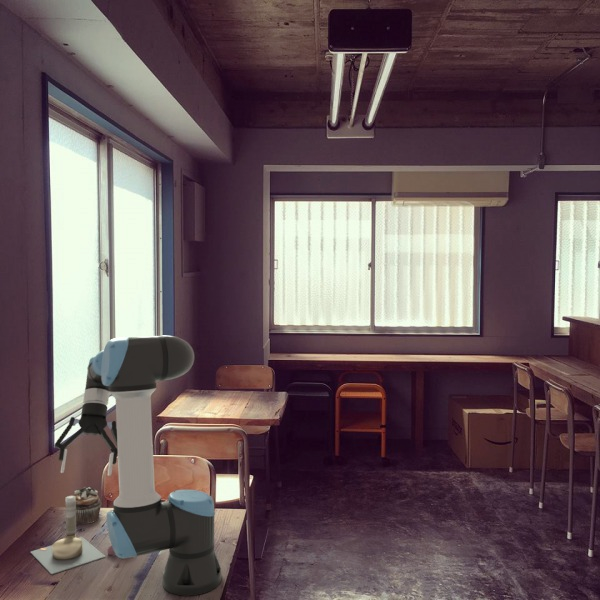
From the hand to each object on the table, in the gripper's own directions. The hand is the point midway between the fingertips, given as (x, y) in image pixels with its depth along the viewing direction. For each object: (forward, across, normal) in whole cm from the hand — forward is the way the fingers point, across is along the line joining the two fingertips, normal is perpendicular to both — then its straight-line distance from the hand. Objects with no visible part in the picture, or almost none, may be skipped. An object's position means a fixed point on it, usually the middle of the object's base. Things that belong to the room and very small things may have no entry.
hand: (86, 473), depth 184 cm
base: (+22, +2, -2) cm, 23 cm away
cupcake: (+10, -4, -23) cm, 26 cm away
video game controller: (+21, -13, +2) cm, 25 cm away
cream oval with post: (+21, +2, -3) cm, 21 cm away
